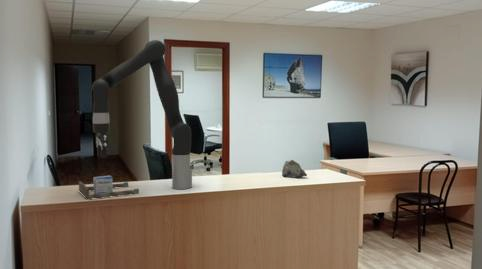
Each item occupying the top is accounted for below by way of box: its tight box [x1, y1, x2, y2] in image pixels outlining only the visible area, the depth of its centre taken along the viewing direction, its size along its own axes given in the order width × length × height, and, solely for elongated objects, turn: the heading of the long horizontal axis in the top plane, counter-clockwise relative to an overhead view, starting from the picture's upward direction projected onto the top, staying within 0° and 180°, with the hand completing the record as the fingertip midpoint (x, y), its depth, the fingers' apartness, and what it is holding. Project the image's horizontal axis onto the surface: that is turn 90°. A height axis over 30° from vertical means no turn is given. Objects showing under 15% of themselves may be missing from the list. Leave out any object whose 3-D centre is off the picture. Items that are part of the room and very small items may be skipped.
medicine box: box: [92, 174, 114, 194], centre depth 212 cm, size 8×4×9 cm, turn 126°
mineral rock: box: [281, 159, 308, 179], centre depth 254 cm, size 13×11×10 cm
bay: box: [78, 181, 140, 200], centre depth 216 cm, size 24×19×5 cm
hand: (102, 156), depth 211 cm, fingers open, 8 cm apart
